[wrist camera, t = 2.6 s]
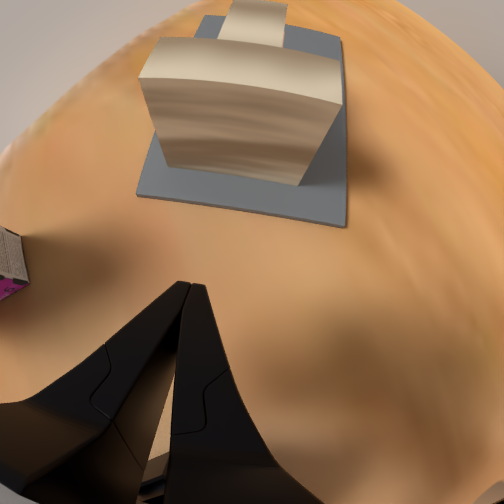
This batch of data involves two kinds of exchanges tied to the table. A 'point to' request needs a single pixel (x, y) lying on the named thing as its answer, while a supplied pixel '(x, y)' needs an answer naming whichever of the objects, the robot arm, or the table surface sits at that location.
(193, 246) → the table surface
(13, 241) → the candy bar box
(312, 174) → the slate board
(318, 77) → the maple T block
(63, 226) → the table surface
